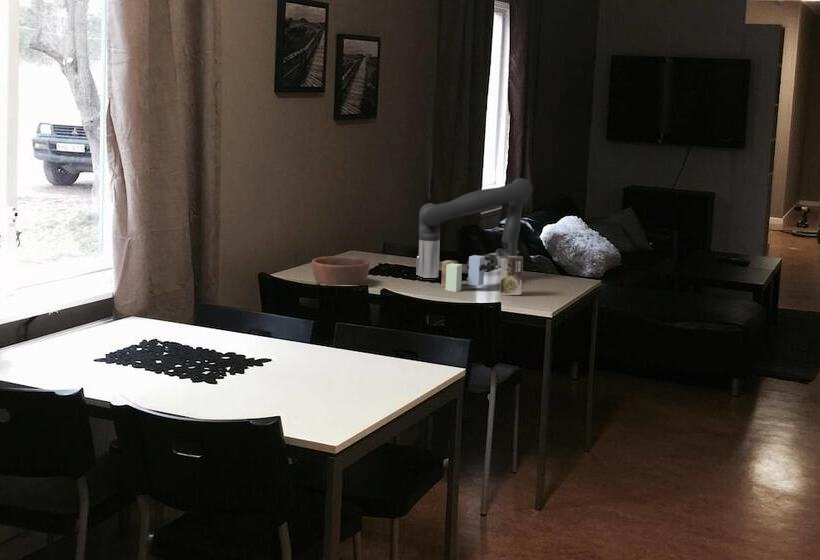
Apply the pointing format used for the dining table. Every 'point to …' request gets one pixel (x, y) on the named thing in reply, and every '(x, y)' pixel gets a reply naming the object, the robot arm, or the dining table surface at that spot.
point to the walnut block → (444, 263)
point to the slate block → (476, 270)
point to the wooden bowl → (340, 270)
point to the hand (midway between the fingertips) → (473, 267)
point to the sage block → (453, 277)
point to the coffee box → (511, 274)
